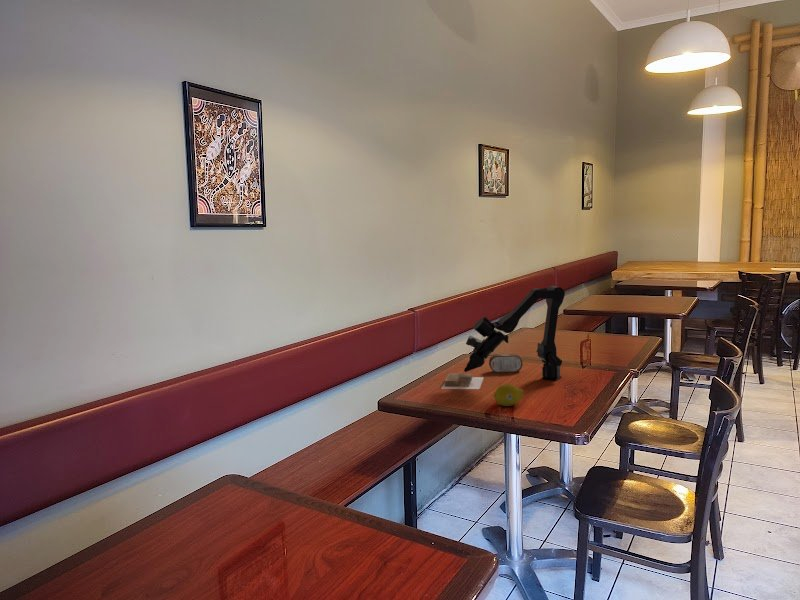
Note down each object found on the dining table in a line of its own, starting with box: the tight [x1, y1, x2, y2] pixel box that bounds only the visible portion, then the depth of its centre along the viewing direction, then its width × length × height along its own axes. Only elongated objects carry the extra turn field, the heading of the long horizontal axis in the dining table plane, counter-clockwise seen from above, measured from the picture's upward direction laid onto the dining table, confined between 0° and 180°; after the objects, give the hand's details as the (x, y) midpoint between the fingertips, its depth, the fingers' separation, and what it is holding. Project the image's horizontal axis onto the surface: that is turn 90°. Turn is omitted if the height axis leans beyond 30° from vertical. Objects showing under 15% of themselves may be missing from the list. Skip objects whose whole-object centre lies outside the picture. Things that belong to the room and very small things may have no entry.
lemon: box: [492, 383, 524, 407], centre depth 213 cm, size 11×8×8 cm
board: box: [444, 372, 473, 387], centre depth 247 cm, size 2×12×10 cm
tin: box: [488, 353, 524, 373], centre depth 261 cm, size 15×3×8 cm, turn 84°
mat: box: [440, 376, 484, 390], centre depth 247 cm, size 16×18×1 cm
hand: (465, 368), depth 245 cm, fingers open, 9 cm apart
